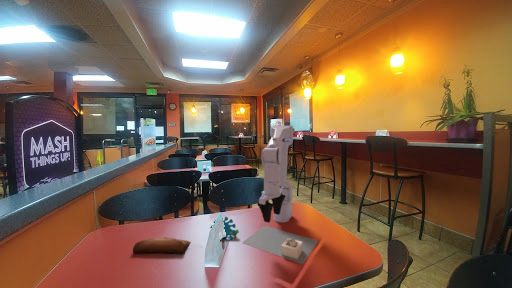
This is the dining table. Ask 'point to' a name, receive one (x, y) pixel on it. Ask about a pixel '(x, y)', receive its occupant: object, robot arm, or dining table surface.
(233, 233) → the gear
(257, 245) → the board
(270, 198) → the robot arm
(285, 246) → the ring
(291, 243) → the piston
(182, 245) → the sunglasses case
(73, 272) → the dining table surface
